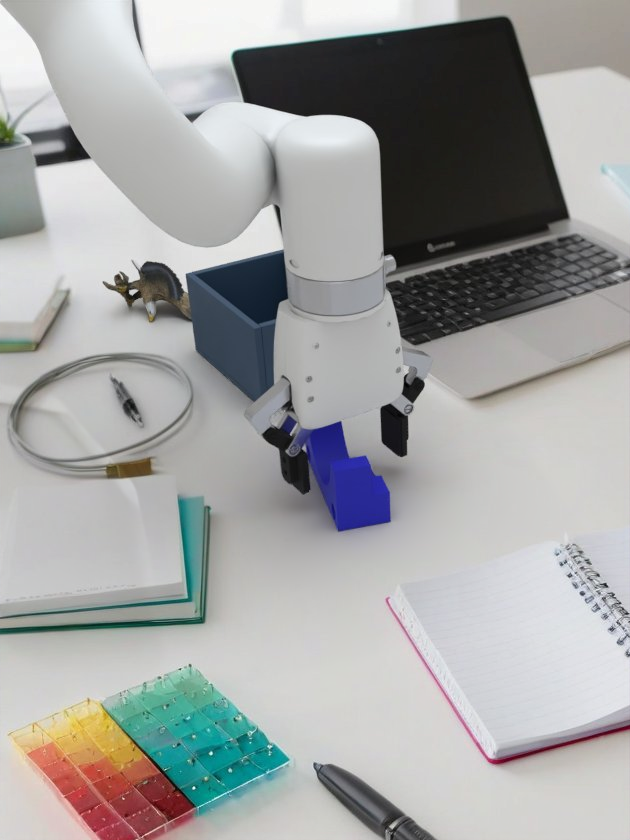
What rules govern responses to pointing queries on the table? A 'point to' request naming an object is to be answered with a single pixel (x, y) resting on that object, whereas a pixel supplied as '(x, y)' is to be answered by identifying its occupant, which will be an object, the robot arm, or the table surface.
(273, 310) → the basket
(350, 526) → the cable clip
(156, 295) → the eagle figurine
